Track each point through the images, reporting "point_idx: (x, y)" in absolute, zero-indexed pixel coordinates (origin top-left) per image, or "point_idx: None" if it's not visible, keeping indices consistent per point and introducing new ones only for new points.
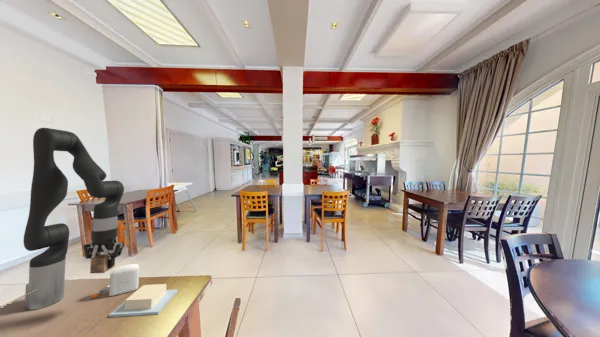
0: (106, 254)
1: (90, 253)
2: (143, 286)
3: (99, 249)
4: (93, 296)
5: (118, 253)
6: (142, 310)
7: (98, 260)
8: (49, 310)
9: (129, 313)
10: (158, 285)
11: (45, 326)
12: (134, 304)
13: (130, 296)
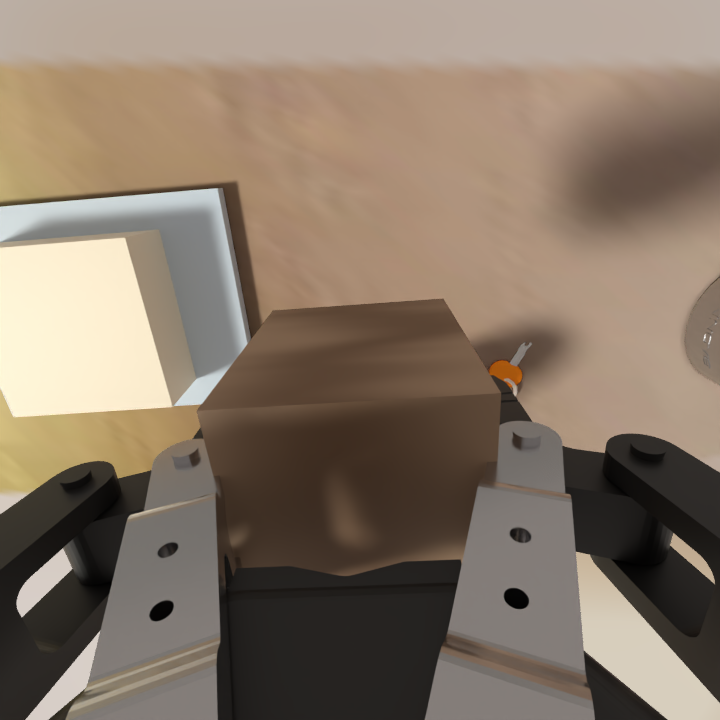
0: (179, 502)
1: (695, 570)
2: (153, 390)
3: (407, 650)
4: (505, 366)
5: (82, 583)
6: (38, 225)
7: (330, 382)
8: (662, 249)
9: (96, 199)
10: (56, 401)
11: (545, 109)
12: (79, 238)
13: (130, 280)
